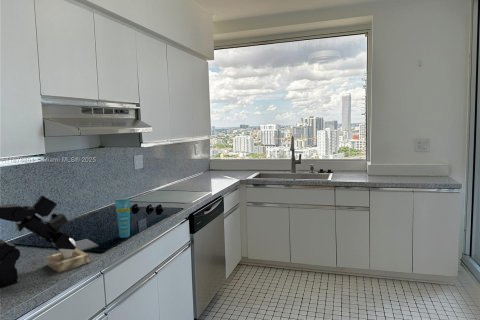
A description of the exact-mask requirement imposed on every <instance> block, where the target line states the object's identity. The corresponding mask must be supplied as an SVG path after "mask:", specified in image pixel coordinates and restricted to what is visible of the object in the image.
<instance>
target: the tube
mask: <svg viewBox="0 0 480 320" xmlns="http://www.w3.org/2000/svg"><path fill="white" fill-rule="evenodd" d="M114 204H115V210H116V217H117V224H118V225H117V226H118V227H117V228H118V233H119V234H118V235H119V236H118V237H119V238H122V239H125V238H129V237H130V233H131V231H130V228H131V226H130V223H131V221H130V218H131V217H130V215H131V214H130V213H131V210H130V209H131V207H130V206H131V198H123V199H114Z"/></svg>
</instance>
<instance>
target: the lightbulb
mask: <svg viewBox="0 0 480 320" xmlns="http://www.w3.org/2000/svg"><path fill="white" fill-rule="evenodd" d="M69 240H70V241H71V243H72V244H73V245H74V246H75V240H74V239H73V238H72V237H70V238H69ZM58 251H59V253H62V254H63V257H64V260H67V259H70V258H72V252H73V250H70V249H58Z"/></svg>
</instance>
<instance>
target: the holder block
mask: <svg viewBox="0 0 480 320" xmlns="http://www.w3.org/2000/svg"><path fill="white" fill-rule="evenodd" d="M88 262H89V263H90V254H88V253H86V252H84V251H81V250H79V249H77V248H76V249H75V250H73V252H72V258H70V259H67V260H64V257H63V254H62V253H61V252H59V253H54V254H52V255H47V256H46V265H47V266H48V267H50V268H51V269H53V270H54V271H55V272H57V273H58V274H59V273H63V272H66V271H68V269H69V270H72V269H74V268H73V267H75V268H77V267H76V266H78V267H80V266H79V265H82V264H85V263H88ZM89 263H88V264H89ZM85 265H86V264H85ZM82 266H83V265H82ZM71 268H72V269H71ZM65 270H66V271H65ZM62 271H63V272H62Z"/></svg>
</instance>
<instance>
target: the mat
mask: <svg viewBox="0 0 480 320" xmlns="http://www.w3.org/2000/svg"><path fill="white" fill-rule="evenodd" d="M74 241H75V240H74ZM75 247H76V248H77V249H79V250H81V251H83V252H84V251H87V250H90V249H95V248H98V247H99V244H97V243H95V242H93V241H92V240H90V239H88V238H84V239H81V240H76V241H75ZM76 248H75V249H76Z"/></svg>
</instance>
